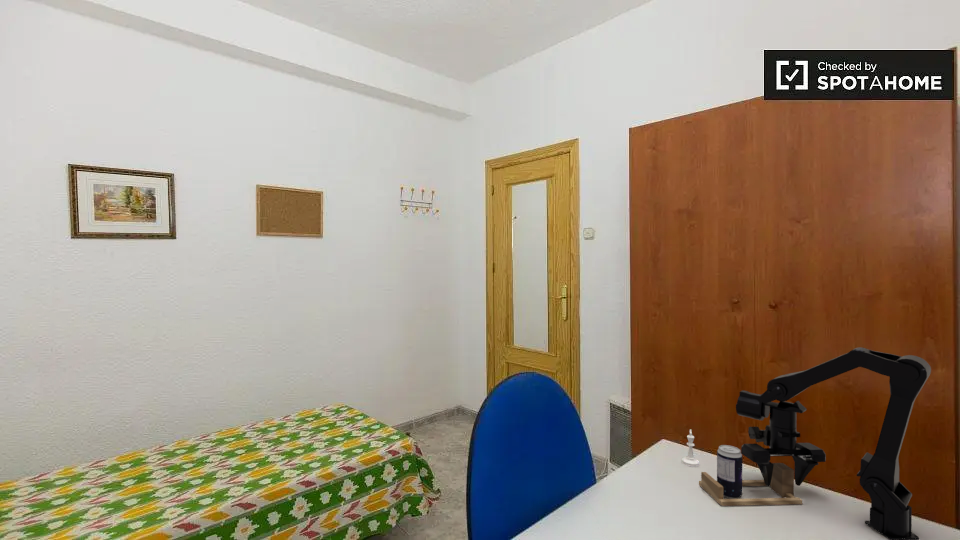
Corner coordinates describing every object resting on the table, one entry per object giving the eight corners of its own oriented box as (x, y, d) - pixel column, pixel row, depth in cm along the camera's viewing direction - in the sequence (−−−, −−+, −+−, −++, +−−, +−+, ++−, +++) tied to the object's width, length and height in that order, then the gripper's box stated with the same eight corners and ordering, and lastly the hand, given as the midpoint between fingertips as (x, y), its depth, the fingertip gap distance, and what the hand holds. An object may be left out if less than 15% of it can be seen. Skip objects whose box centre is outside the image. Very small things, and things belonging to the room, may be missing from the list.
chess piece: (682, 465, 130) (682, 431, 130) (680, 458, 135) (680, 426, 135) (701, 467, 129) (701, 433, 128) (698, 460, 133) (698, 427, 133)
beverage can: (745, 502, 110) (746, 454, 110) (721, 499, 111) (721, 452, 111) (737, 490, 115) (737, 445, 115) (713, 488, 116) (714, 443, 116)
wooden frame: (773, 483, 119) (774, 457, 119) (803, 504, 108) (803, 475, 108) (698, 484, 118) (698, 458, 118) (721, 505, 108) (721, 477, 108)
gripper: (794, 414, 122) (794, 470, 122) (728, 415, 121) (728, 471, 121) (827, 429, 111) (827, 490, 111) (755, 430, 110) (755, 492, 110)
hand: (782, 485), depth 114 cm, fingers open, 8 cm apart
